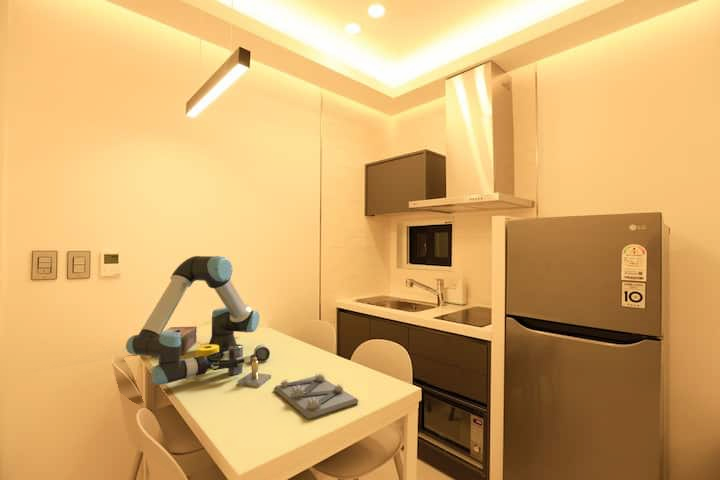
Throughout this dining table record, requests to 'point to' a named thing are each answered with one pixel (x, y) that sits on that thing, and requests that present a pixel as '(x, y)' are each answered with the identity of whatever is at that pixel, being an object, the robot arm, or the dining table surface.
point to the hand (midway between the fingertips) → (243, 355)
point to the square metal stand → (254, 376)
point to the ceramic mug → (261, 353)
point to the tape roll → (207, 350)
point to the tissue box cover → (184, 337)
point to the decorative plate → (315, 396)
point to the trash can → (234, 353)
